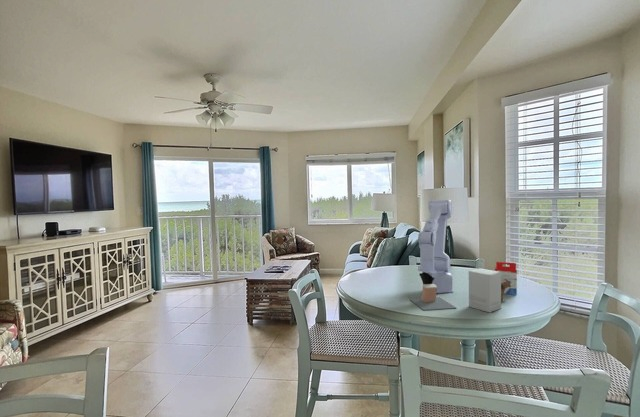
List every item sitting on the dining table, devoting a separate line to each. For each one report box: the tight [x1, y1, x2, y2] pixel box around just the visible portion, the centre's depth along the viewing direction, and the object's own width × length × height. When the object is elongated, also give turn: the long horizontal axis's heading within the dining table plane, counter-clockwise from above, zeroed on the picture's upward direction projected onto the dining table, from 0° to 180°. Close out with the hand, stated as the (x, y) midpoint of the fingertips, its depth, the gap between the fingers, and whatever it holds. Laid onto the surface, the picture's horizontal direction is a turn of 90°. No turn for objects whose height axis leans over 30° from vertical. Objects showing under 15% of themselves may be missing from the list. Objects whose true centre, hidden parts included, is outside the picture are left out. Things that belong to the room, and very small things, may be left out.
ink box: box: [494, 261, 518, 296], centre depth 148 cm, size 8×5×15 cm, turn 65°
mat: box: [409, 296, 457, 311], centre depth 134 cm, size 14×14×1 cm
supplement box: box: [468, 267, 502, 313], centre depth 129 cm, size 9×9×15 cm
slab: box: [421, 283, 437, 302], centre depth 136 cm, size 5×3×7 cm, turn 97°
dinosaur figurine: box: [501, 279, 511, 303], centre depth 137 cm, size 14×6×9 cm, turn 122°
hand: (427, 290), depth 138 cm, fingers closed
